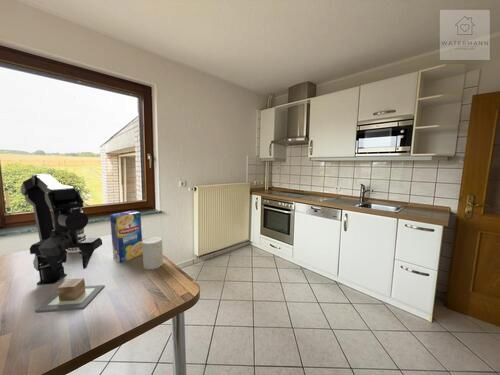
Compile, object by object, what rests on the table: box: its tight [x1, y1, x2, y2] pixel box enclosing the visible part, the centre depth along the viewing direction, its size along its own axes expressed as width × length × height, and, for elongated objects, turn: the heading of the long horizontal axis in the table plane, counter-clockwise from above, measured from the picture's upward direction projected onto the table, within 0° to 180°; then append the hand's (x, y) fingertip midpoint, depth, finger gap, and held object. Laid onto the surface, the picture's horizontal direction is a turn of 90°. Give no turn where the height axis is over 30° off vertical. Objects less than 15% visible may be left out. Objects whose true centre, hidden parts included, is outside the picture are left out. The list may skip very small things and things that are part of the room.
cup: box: [142, 236, 164, 270], centre depth 95 cm, size 8×8×12 cm
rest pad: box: [34, 284, 106, 313], centre depth 72 cm, size 14×12×1 cm
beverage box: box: [109, 210, 143, 263], centre depth 102 cm, size 7×11×22 cm, turn 145°
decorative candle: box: [66, 207, 87, 254], centre depth 110 cm, size 9×9×25 cm
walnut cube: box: [57, 277, 86, 301], centre depth 72 cm, size 5×5×5 cm
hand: (70, 269), depth 71 cm, fingers open, 9 cm apart
